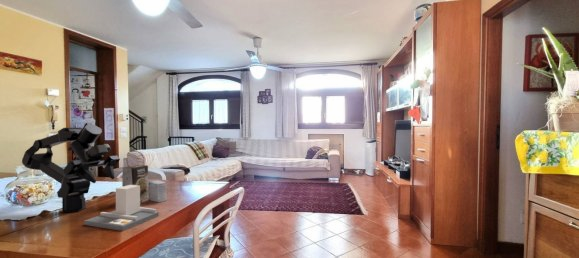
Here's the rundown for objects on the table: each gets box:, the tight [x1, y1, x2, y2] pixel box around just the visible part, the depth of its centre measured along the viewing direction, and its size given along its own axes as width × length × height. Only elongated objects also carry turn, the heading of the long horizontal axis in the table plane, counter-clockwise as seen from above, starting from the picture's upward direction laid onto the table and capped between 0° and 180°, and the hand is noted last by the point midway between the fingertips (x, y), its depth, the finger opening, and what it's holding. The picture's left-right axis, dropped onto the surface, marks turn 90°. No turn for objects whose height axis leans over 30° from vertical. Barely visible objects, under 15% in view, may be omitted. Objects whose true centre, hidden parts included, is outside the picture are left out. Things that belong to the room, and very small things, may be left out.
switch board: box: [84, 206, 160, 232], centre depth 95 cm, size 18×15×3 cm
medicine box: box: [148, 180, 167, 203], centre depth 120 cm, size 8×4×9 cm, turn 58°
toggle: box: [115, 185, 141, 215], centre depth 97 cm, size 6×6×10 cm
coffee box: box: [121, 164, 149, 202], centre depth 120 cm, size 9×6×16 cm
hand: (104, 180), depth 101 cm, fingers open, 7 cm apart
